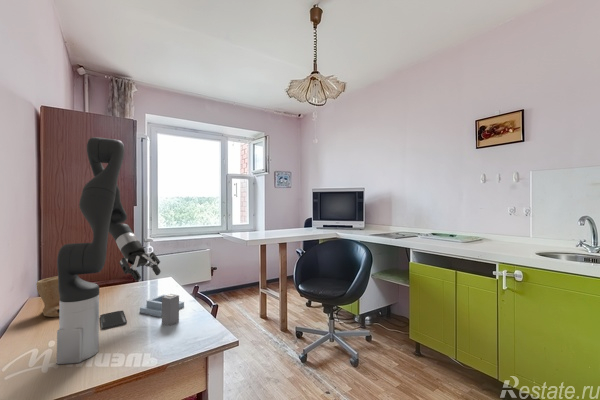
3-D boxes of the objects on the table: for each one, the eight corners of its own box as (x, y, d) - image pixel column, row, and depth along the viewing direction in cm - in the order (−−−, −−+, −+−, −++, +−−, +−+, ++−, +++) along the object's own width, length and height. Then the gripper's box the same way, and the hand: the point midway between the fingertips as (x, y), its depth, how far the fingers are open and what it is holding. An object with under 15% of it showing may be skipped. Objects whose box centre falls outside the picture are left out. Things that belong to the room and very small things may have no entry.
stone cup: (36, 311, 114) (37, 275, 114) (73, 304, 122) (73, 271, 122) (35, 322, 103) (35, 283, 103) (75, 314, 111) (76, 277, 111)
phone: (123, 310, 113) (127, 322, 101) (122, 312, 113) (127, 325, 101) (99, 314, 108) (101, 328, 96) (99, 317, 108) (101, 331, 96)
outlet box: (184, 306, 119) (184, 296, 119) (160, 317, 108) (160, 305, 108) (164, 302, 123) (164, 292, 123) (139, 312, 112) (139, 301, 112)
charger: (178, 321, 103) (179, 294, 104) (170, 325, 100) (170, 297, 100) (170, 319, 105) (170, 293, 105) (161, 323, 102) (161, 296, 102)
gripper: (116, 242, 105) (136, 275, 100) (150, 237, 118) (169, 266, 113) (108, 255, 107) (127, 287, 102) (141, 249, 120) (160, 278, 115)
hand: (149, 276), depth 108 cm, fingers open, 8 cm apart
